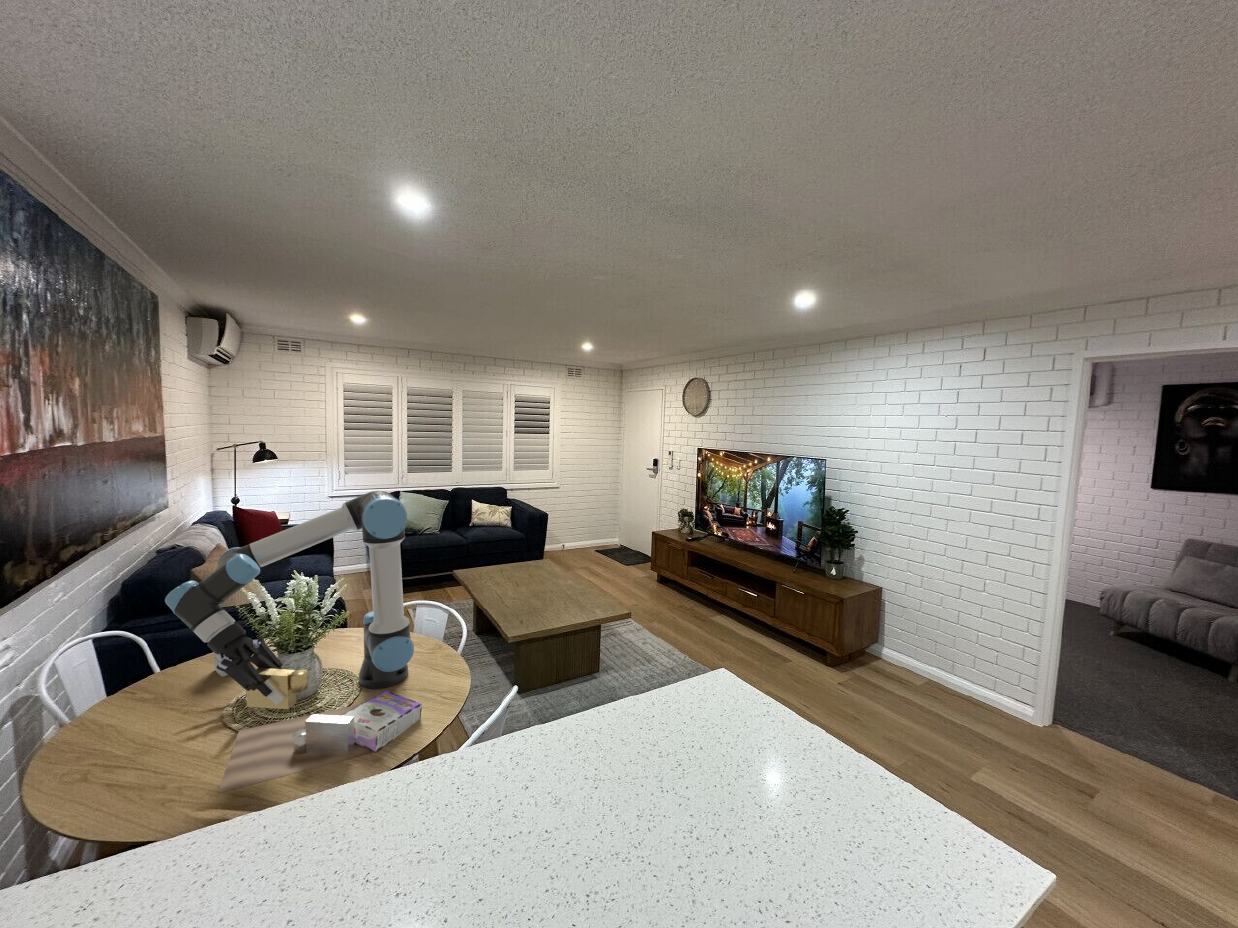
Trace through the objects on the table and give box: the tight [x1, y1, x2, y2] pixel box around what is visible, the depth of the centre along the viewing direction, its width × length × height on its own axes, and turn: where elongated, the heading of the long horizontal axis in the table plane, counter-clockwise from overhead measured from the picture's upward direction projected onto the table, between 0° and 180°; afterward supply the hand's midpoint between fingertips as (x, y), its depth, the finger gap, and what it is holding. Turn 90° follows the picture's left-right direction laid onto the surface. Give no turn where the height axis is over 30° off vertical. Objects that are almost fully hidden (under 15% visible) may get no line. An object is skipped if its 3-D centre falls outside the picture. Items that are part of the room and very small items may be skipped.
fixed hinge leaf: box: [293, 713, 355, 756], centre depth 131 cm, size 4×15×9 cm, turn 88°
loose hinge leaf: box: [245, 667, 309, 710], centre depth 130 cm, size 4×15×9 cm, turn 88°
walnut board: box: [217, 703, 373, 794], centre depth 134 cm, size 25×32×1 cm
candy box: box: [342, 690, 423, 752], centre depth 141 cm, size 14×6×16 cm
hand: (286, 697), depth 130 cm, fingers closed on loose hinge leaf, 3 cm apart
